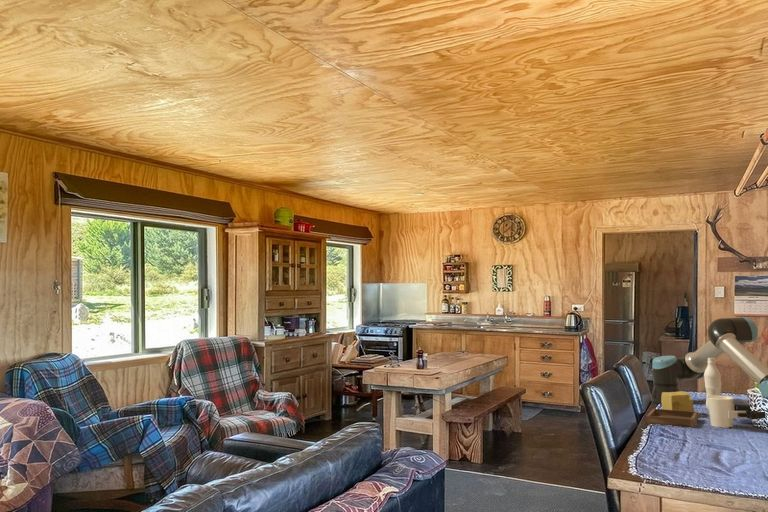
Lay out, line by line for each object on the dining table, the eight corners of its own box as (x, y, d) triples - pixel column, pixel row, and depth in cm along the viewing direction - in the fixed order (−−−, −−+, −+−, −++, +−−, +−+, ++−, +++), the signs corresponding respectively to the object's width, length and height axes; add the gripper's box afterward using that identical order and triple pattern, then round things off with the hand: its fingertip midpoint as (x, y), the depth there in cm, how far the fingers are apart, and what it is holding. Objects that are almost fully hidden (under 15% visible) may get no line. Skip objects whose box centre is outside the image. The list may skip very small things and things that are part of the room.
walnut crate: (653, 416, 273) (653, 408, 273) (698, 419, 263) (697, 411, 263) (646, 424, 257) (646, 416, 258) (693, 428, 247) (693, 419, 248)
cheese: (695, 416, 270) (693, 394, 270) (671, 417, 270) (670, 395, 271) (684, 412, 280) (682, 391, 281) (661, 412, 280) (660, 391, 281)
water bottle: (702, 410, 283) (699, 358, 284) (712, 408, 286) (709, 356, 287) (716, 412, 276) (713, 359, 278) (726, 411, 279) (723, 358, 281)
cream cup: (739, 428, 244) (737, 399, 245) (713, 428, 246) (711, 399, 247) (730, 423, 254) (728, 395, 254) (705, 423, 255) (703, 395, 256)
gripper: (793, 427, 232) (733, 426, 237) (767, 414, 257) (713, 414, 261) (791, 408, 233) (732, 407, 238) (765, 397, 257) (712, 397, 262)
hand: (722, 411), depth 249 cm, fingers open, 13 cm apart
